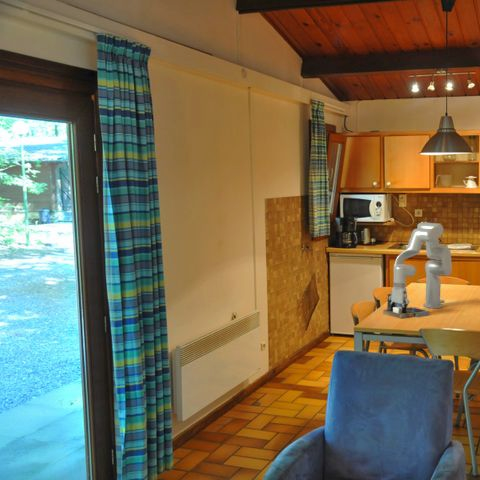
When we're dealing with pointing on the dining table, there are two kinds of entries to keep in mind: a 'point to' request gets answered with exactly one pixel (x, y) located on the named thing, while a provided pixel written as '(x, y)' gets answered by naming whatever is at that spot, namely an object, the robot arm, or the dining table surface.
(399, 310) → the letter cube
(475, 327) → the dining table surface
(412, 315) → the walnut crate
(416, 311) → the charcoal tray
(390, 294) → the small box
